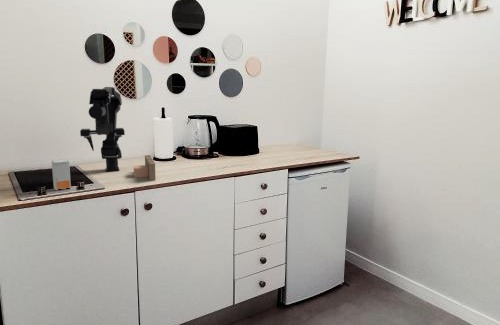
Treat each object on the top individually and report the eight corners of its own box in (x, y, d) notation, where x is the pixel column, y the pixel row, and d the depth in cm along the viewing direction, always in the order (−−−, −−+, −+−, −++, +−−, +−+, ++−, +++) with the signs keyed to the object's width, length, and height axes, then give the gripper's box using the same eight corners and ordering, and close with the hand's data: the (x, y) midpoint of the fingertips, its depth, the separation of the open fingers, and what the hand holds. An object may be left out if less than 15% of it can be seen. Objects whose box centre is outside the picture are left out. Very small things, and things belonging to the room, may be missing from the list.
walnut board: (145, 170, 187) (144, 155, 185) (150, 170, 188) (149, 155, 186) (149, 180, 168) (149, 163, 166) (155, 180, 168) (154, 163, 167)
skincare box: (55, 191, 149) (52, 162, 146) (53, 188, 152) (51, 160, 149) (71, 188, 152) (69, 160, 150) (69, 186, 155) (67, 159, 153)
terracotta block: (133, 174, 178) (133, 165, 178) (146, 174, 181) (146, 165, 180) (135, 177, 173) (134, 168, 172) (148, 176, 175) (147, 167, 174)
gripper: (78, 118, 155) (81, 154, 159) (124, 118, 162) (126, 152, 166) (79, 116, 165) (82, 150, 169) (122, 115, 172) (124, 148, 176)
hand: (103, 150), depth 169 cm, fingers open, 9 cm apart
